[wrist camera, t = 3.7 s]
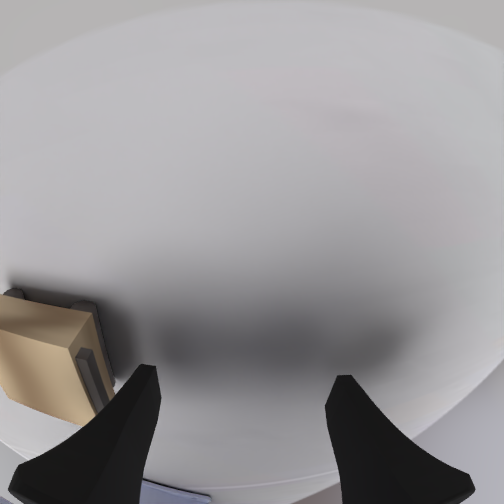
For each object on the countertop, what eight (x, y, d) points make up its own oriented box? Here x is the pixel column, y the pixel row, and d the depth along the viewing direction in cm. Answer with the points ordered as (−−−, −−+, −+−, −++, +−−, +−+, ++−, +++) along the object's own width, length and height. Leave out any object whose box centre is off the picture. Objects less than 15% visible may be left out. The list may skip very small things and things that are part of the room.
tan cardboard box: (113, 298, 11) (80, 351, 8) (131, 382, 13) (113, 434, 10) (6, 280, 11) (-33, 317, 8) (34, 358, 13) (8, 398, 10)
